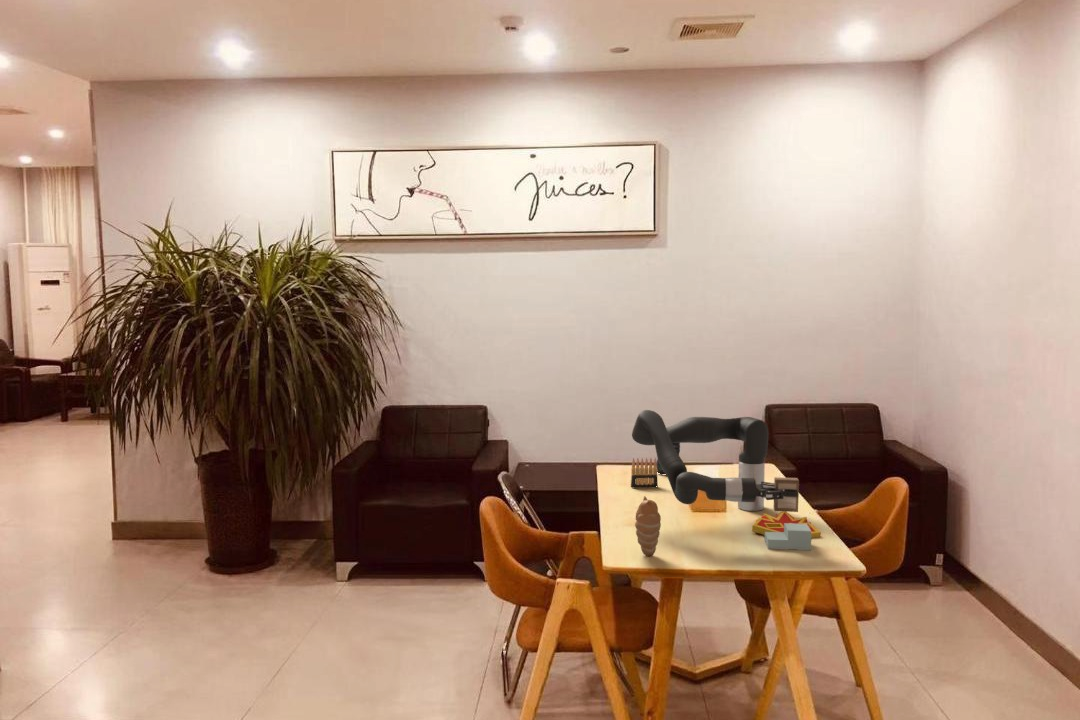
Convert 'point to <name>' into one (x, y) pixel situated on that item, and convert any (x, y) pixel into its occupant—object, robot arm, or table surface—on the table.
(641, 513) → the brown ribbed tall piece
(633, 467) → the ammunition clip
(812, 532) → the wall decoration
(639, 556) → the table surface
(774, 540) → the blue-grey stepped block
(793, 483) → the frame
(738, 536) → the table surface
